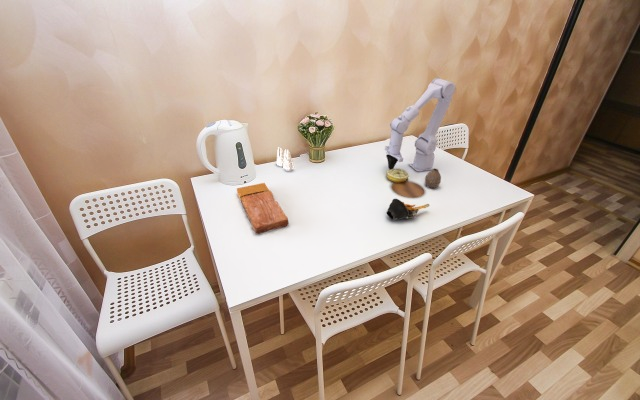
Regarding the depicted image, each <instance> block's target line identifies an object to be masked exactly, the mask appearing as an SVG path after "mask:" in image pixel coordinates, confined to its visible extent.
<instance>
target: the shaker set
mask: <svg viewBox="0 0 640 400" xmlns="http://www.w3.org/2000/svg"><path fill="white" fill-rule="evenodd" d="M276 166H278V167H282V168H283V169H284V170H285V171H286V172H292V171H293V170H294V169H295V168H296V167H295V164H294V160H293V158H292V155H291V152H290V149H287V148H286V149H284V150H283V148H282V147H280V146H278V147H277V153H276Z"/></svg>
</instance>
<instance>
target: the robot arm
mask: <svg viewBox="0 0 640 400" xmlns="http://www.w3.org/2000/svg"><path fill="white" fill-rule="evenodd" d="M455 91H456V85H455V83H454V82H452V81H450V80H449V81H448V80H445V79H442V78H440V77H435V78H433V80H432V81H431V82H430V83H429V84H428V86H427V89H426V90H425V92H424V93H423V94H422V95H421V96H420V97H419V98H418V100H417V101H416V102H415V103H414V104H413V105H409V106H407V107H406V108H405V110H404V111H403V112H402V113H401V114H399V116H398V117H396V118H395V117H394V118H393V119H392V121H390V123H389V127H390V132H391V133H390V140H389V144H388V145H386V146H384V151H385V154H386V159H387V166H388V170H390V169H395V166H396V165H397V163H402V162H403V161H404V157H403V155H402V153H401V151H402V149H401V148H402V145H403V144H402V143H403V139H404V134H405V132H407V131H408V129H409V126H410V125H411V123H412V122H413V121H414V120H415V119H416V118H417V116H418V115H419V112H420V110H422V108H423V107H425V106H426V105H427V104H428V103H429V102H430V101H432V99H437V103H436V105H435V107H434V110H433V112H432V114H431V117H430V118H429V121H428V123H427V125H426V128H425V130H424V132H422V133H420V134H419V136H418V137H417V138H416V140H415V141H414V147H415V154H414V159H413V162H412V163H409V164H408V165H409V167H411V168H412V169H413V170H415V171H416V172H425V171H432V170H433V165H434V161H435V154H434V152H435V151H436V150H437V149H436V148H437V144H438V140H437V137H436V135H437V133H438V131H439V129H440V127H441V125H442V122H443V120H444V118H445V115H446V114H447V111H448V109H449V107H450V105H451V102H452V100H453V96H454V93H455Z"/></svg>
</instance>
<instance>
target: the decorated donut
mask: <svg viewBox="0 0 640 400" xmlns="http://www.w3.org/2000/svg"><path fill="white" fill-rule="evenodd" d="M386 178H387V179H388V180H389V181H391V182H392V183H395V182H397V183H399V182H404V181H408V179H409V178H410V174H409V173H408V172H407V171H406V170H404V169H402V168H393V169H388V170H387V171H386Z"/></svg>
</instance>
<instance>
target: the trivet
mask: <svg viewBox="0 0 640 400" xmlns="http://www.w3.org/2000/svg"><path fill="white" fill-rule="evenodd" d="M391 190H392V191H393V192H394V193H395V194H397V195H398V196H400V197H403V198H408V199H415V198H416V199H417V198H421V197H422V196H424V194H425V189H424V187H422V185H420V184H418V183H416V182H413V181H409V180H406V181H404V182H399V183H397V182H392V184H391Z"/></svg>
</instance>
